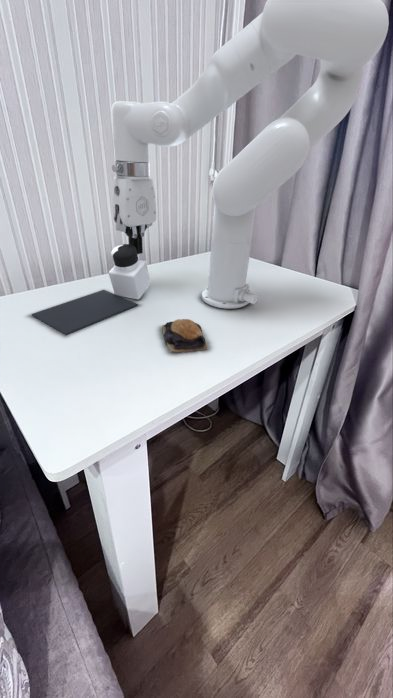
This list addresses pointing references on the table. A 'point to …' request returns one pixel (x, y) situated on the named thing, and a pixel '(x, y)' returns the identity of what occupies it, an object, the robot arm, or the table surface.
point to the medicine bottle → (128, 272)
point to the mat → (83, 311)
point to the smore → (183, 336)
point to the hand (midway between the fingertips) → (136, 252)
